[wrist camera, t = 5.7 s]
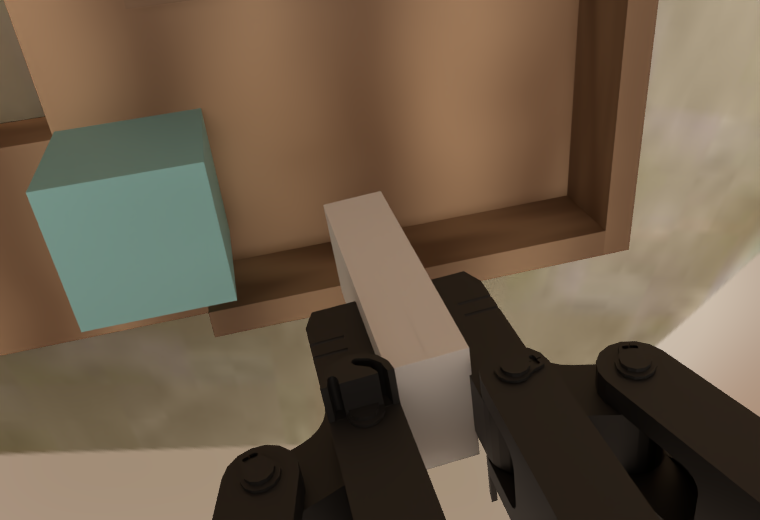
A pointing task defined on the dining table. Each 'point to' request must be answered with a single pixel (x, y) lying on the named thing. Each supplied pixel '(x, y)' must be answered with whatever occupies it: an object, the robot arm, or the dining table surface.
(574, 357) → the dining table surface
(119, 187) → the teal block
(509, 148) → the tray
